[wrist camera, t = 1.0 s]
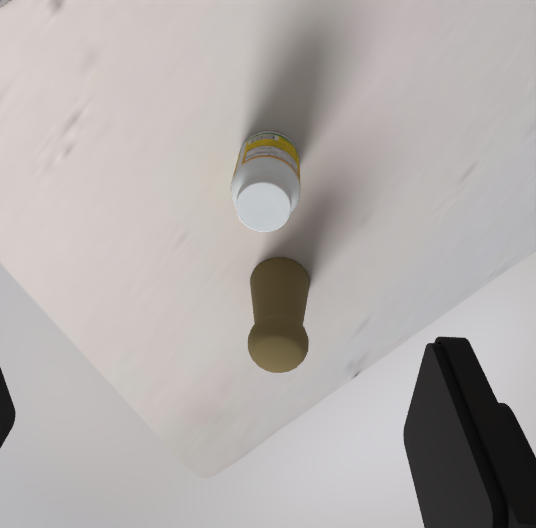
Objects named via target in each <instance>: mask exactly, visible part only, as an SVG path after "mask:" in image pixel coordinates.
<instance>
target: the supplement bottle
mask: <svg viewBox="0 0 536 528" xmlns="http://www.w3.org/2000/svg"><path fill="white" fill-rule="evenodd" d="M231 196H232V200H233V202H234V205H235V206H236V211H237V214H238V217H239V218H240V220H241V221H242V223H243V224H245V225H246V226H247V227H248V228H250V229H252V230H255V231H259V232H271V231H274V230H277V229H278V228H280V227H282V226H283V225H284V224H285V223H286V222H287V220H288V219H289V217H290V214H291V213H292V212H293V210H294V209H295V207H296V206H297V204H298V201H299V198H300V166H299V155H298V151H297V149H296V147H295V145H294V144H293V142H292V141H291V140H290V139H289V138H287V137H286V136H284V135H282V134H280V133H277V132H272V131H265V132H260V133H257V134H255V135H253V136H251V137H250V138H249V139H248V140H246V142H245V143H244V144H243V146H242V148H241V150H240V153H239V156H238V160H237V164H236V168H235V172H234V175H233V179H232V183H231Z"/></svg>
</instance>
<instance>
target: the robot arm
mask: <svg viewBox="0 0 536 528" xmlns="http://www.w3.org/2000/svg"><path fill="white" fill-rule="evenodd" d="M10 1H11V0H0V8H1V7H2V6H4V5H5V4H7V3H8V2H10ZM14 421H15V408H14V405H13V402H12V399H11V397H10V394H9V391H8V388H7V385H6V382H5V380H4V376H3V374H2V371H1V368H0V448H1V446H2V444H3V443H4V441H5V439H6V437H7V436H8V434H9V432H10V430H11V429H12V427H13V424H14ZM404 445H405V449H406V453H407V457H408V461H409V465H410V470H411V474H412V477H413V482H414V486H415V490H416V494H417V498H418V502H419V506H420V511H421V514H422V519H423V523H424V527H425V528H536V457H535V455H534V453H533V451H532V449H531V447H530V445H529V443H528V441H527V439H526V437H525V435H524V433H523V431H522V429H521V427H520V425H519V423H518V421H517V419H516V417H515V415H514V413H513V412H512V410H511V408H510V407H509V406H508V405H506V404H505V403H498V402H497V399H496V397H495V395H494V393H493V391H492V389H491V387H490V385H489V383H488V381H487V378H486V376H485V374H484V372H483V370H482V368H481V366H480V364H479V362H478V359H477V357H476V355H475V353H474V351H473V349H472V347H471V345H470V343H469V341H468V340H467V339H466V338H456V337H437V338H436V340H435V342H434V343H429V344H427V345H426V348H425V352H424V356H423V359H422V363H421V367H420V370H419V374H418V378H417V382H416V385H415V389H414V392H413V396H412V400H411V404H410V408H409V411H408V415H407V418H406V423H405V426H404Z"/></svg>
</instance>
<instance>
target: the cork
mask: <svg viewBox="0 0 536 528" xmlns="http://www.w3.org/2000/svg"><path fill="white" fill-rule="evenodd" d="M309 281H310V279H309V276H308V273H307V271H306V270H305V269H304V268H303V266H302V265H300V264H299V263H297V262H296V261H294V260H291V259H288V258H272V259H268V260H265V261H264V262H262V263H260V264H259V265H258V266H257V267H256V268H255V269H254V270H253V273H252V275H251V278H250V284H251V295H252V304H253V313H254V322H255V324H254V325H253V327H252V329H251V331H250V334H249V336H248V350H249V353H250V356H251V358H252V360H253V361H254V362H255V363H256V364H257V365H258V366H259V367H261V368H262V369H264V370H266V371H270V372H273V373H283V372H287V371H290V370H292V369H295V368H296V367H297V366H298V365H299V364H300V363H301V362H303V361H304V359H305V357H306V355H307V352H308V343H309V342H308V336H307V333H306V331H305V328H304V327H303V321H304V315H305V309H306V303H307V297H308V291H309Z"/></svg>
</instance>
